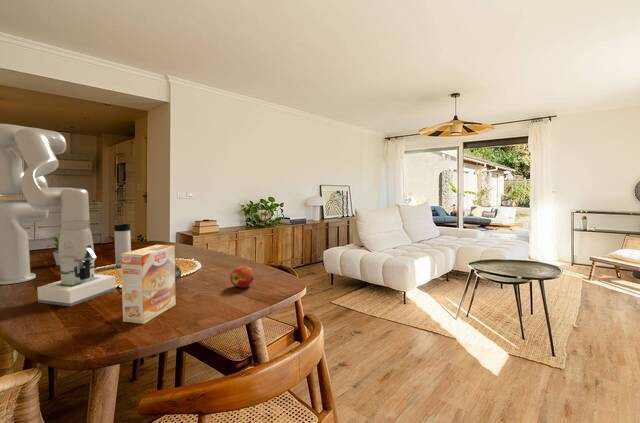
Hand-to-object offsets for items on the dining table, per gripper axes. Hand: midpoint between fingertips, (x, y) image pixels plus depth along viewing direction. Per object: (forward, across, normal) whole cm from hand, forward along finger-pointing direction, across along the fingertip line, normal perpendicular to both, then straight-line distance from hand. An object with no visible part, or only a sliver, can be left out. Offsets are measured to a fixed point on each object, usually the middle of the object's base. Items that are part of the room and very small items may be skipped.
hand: (78, 277), depth 111 cm
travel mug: (+7, -18, +37) cm, 42 cm away
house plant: (+7, -48, +31) cm, 57 cm away
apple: (+6, +49, +24) cm, 55 cm away
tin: (+7, +18, +17) cm, 26 cm away
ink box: (+4, 0, 0) cm, 4 cm away
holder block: (+6, 0, 0) cm, 6 cm away
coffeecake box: (+7, +34, -6) cm, 35 cm away
